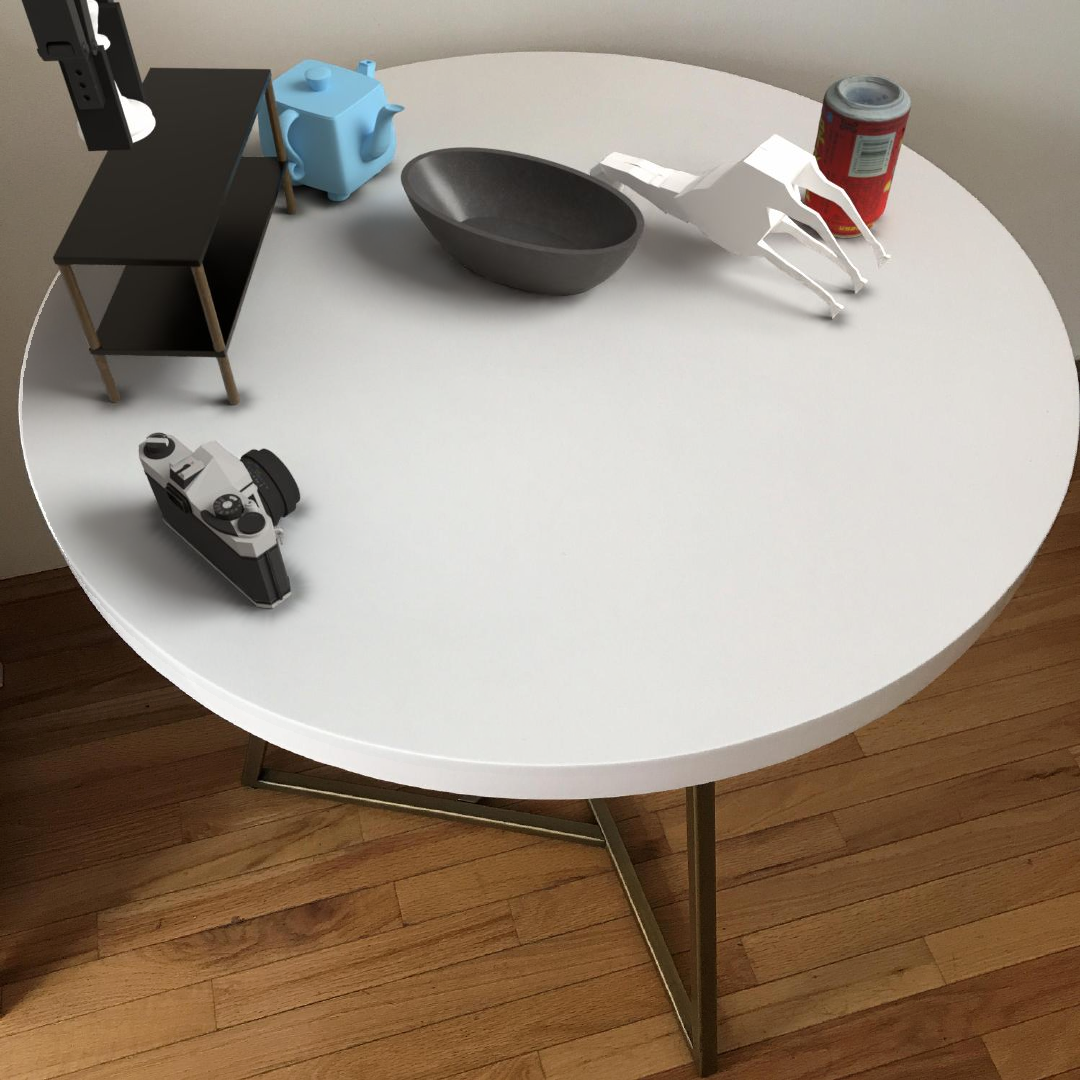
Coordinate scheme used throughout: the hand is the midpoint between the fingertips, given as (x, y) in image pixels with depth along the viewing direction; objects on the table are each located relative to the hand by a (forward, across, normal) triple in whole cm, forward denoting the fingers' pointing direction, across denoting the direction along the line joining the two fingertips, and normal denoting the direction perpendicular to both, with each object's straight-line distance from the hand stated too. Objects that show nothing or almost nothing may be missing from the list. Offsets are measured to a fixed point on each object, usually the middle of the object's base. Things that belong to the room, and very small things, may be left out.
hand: (118, 123), depth 76 cm
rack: (+20, +9, -1) cm, 22 cm away
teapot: (+21, +26, -10) cm, 35 cm away
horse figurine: (+21, +11, -44) cm, 50 cm away
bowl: (+21, +11, -27) cm, 36 cm away
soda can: (+21, +15, -56) cm, 61 cm away
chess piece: (0, 0, 0) cm, 0 cm away
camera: (+21, -19, -6) cm, 28 cm away
